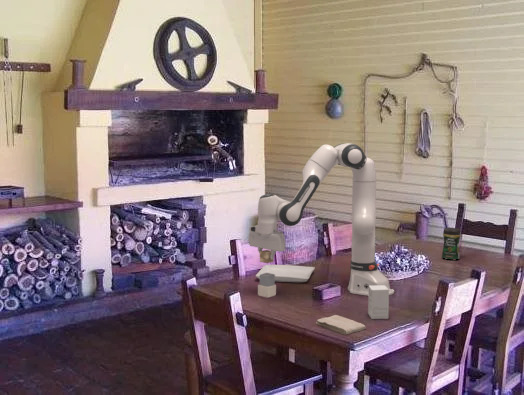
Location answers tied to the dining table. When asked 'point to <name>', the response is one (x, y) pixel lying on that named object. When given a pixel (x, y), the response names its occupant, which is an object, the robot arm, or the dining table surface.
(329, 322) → the washcloth
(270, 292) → the tower base
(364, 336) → the dining table surface
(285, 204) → the robot arm
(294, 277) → the square plate
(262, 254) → the beech cube
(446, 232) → the coffee jar
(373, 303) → the supplement box
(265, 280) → the tower top
